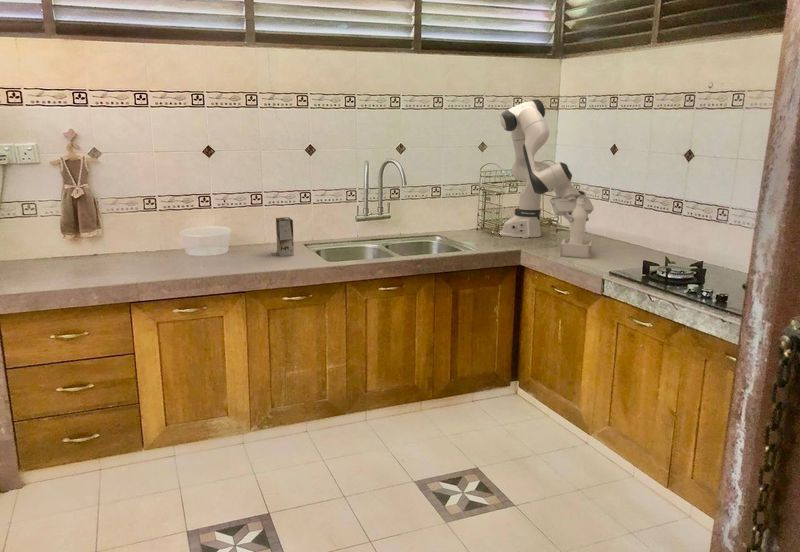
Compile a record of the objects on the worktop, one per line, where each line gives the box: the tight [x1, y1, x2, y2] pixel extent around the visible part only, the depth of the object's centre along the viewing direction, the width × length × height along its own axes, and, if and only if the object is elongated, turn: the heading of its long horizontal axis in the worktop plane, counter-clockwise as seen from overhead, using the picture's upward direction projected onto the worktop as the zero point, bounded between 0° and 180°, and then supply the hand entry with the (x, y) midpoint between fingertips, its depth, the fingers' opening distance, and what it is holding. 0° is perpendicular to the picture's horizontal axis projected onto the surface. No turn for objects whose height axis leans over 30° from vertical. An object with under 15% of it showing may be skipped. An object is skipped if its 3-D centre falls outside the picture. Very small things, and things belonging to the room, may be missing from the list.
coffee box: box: [275, 216, 295, 257], centre depth 289 cm, size 9×6×16 cm
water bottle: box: [568, 198, 587, 245], centre depth 293 cm, size 7×7×25 cm
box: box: [559, 237, 593, 260], centre depth 295 cm, size 13×13×6 cm
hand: (579, 221), depth 292 cm, fingers closed on water bottle, 7 cm apart
